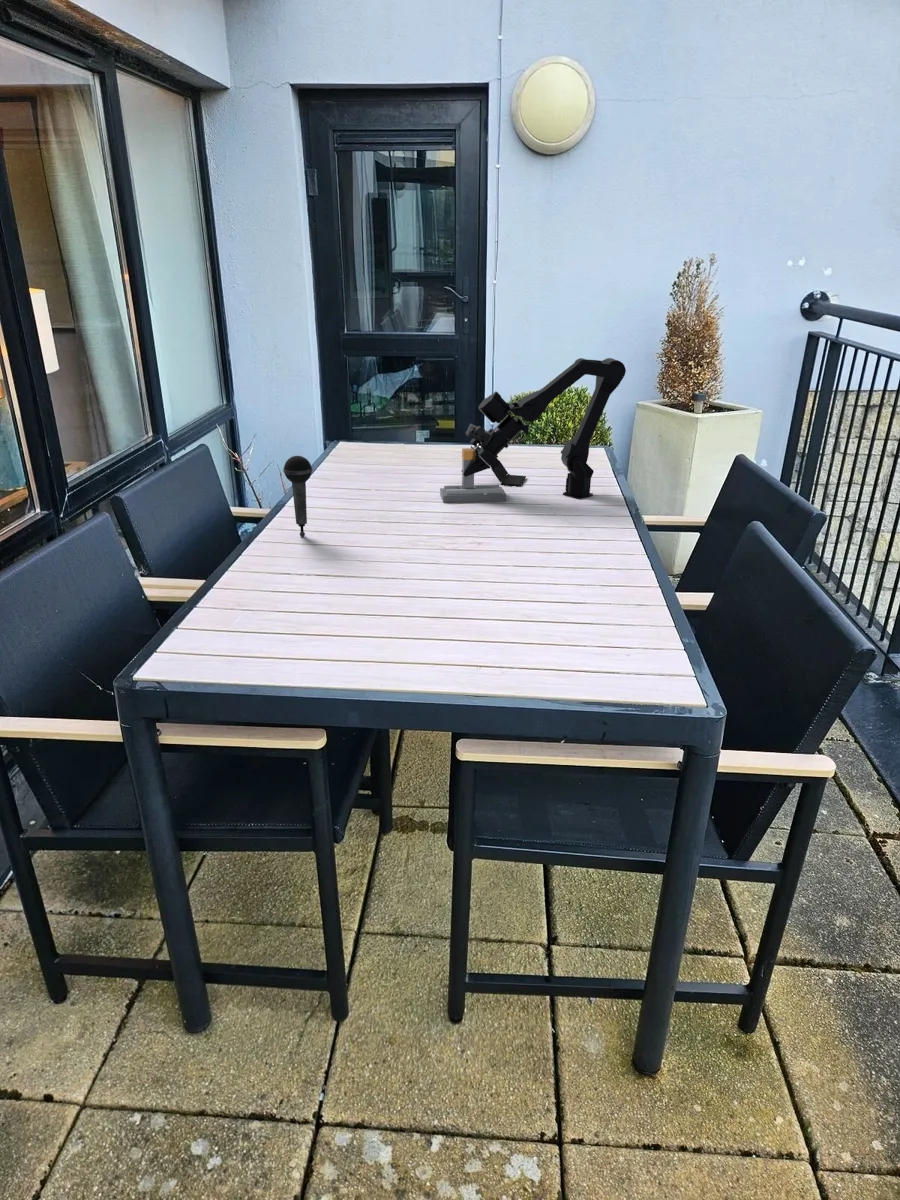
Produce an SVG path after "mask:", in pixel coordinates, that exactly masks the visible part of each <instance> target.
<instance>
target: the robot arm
mask: <svg viewBox="0 0 900 1200" xmlns="http://www.w3.org/2000/svg"><path fill="white" fill-rule="evenodd" d="M626 371H627V370H626V367H625V364H624V363H623V362H621V360H618V359H615V358H612V357H607V358H604V359H603V360H599V359H598V360H597V359H587V358H582V357H580V358H577V359H576V360H575V361H574V362H573V363H572V364H571V365H569V367H567V368H566V369H565V370H563V371H562V372H561V373H560V374H558V375H557V376H556V377H555V378H553V379H552V380H551V381H549V383H547V384H546V385H545V386H543V387H541V388H540V389H538V390H537V391H534V392H532V393H530V394H528V395H526V396H524V397H522V398H521V399H519V400H518V401H515V402H511V403H507V402H506V401H505V400H504V398H502V396H501V394H500V393H499V392H498V391H494V392H493V393H491V394H490V395H488V396H487V397H485V398H484V399H483V400H482V401H481V403H480V404H479V406H478V408H477V409H478V410H479V411H480V412H481V413H482V414H483V415H484V417H485V418H487V420H489V421H490V422H491V423H492V424H494V423H497V425H496V427H495V428H494V429H493V428H490V429H488V430H486V429H485V428H484V427H482V426H481V425H478V426H477V425H475V424H474V423H469V424H468V426H467V430H466V431H465V435H466V437H468V438H469V439H471V440H470V441H469V443H471V445H470V448H473V449H474V450H475V452H474V460H473V461H472V462H471V464H470V465H469V466H468V468H467V469H466V470H465V472H464V473H463V475H464V476H465V477H467V476H469V475H472V474H474V475H475V474H476V473H479V472H482V471H485V470H489V469H491V468H492V469H493V470H494V471H495V470H496V469H497V468H498V467H499V466H500V462H501V461H500V460H499V459H498V458H499V456H498V455H499V454H500V453H501V451H503V450H504V449H508V448H509V444H510V443H511V442H512V441H513V440H514V439H515V438H516V437H517V436H519V434H520V433H521V432H523V433H524V434H525V435H526V436H528V435H529V430H530V429H529V428H530V424H529V423H530V422H535V421H536V420H538V419H539V417H540V416H541V415H543V413H544V412H545V411H546V409H547V408H548V406H549V405H550V404H551V402H552V401H554V400H555V399H556V398H558V397H559V396H560V395H561V394H562V393H564V392H565V391H566V390H567V389H568V388H570V387H571V386H573V384H575V383H577V382H578V381H579V380H580V379H581V378H582V377H584V376H585V375H589V376H593V377H594V376H595V386H594V387H595V389H594V391H593V393H592V396H591V398H590V400H589V403H588V405H587V407H586V409H585V412H584V415H583V417H582V419H581V422H580V424H579V426H578V429H577V431H576V433H575V436H574V437H573V438H572V439H571V440H570V441H569V440H568V439H566V440H565V442H564V446H563V448H562V450H560V453H561V457H560V460H561V462H562V464H563V466H564V467H566V468H567V471H568V472H569V473H567V477H566V480H565V492H562V495H563V496H566V497H570V498H574V499H578V500H581V499H585V498H589V497H592V496H594V493H593V492H591V483H592V476H593V474H594V470H593V468H591V466H590V465H589V464H588V462H587V461H588V460H589V459H588V458H589V455H590V443H591V440H592V437H593V436H594V434H595V431H596V429H597V426H598V424H599V423H600V419H601V417H602V414H603V413H604V410H605V408H606V405H607V403H608V401H609V398H610V396H611V395H612V394H613V392H614V391H615V390H616V389H617V388H618V387H619V386H620V385H621V382H622V381H623V379H624V377H625V375H626ZM509 412H510V413H512V415H514V416H515V417H513V416H512V415H511V414H510V413H509ZM519 417H520V418H521V419H522V420H524V421H525V422H529V423H524V422H523V421H522V420H521V419H520V418H519ZM473 446H474V447H473ZM492 469H491V470H492ZM461 473H462V470H461Z"/></svg>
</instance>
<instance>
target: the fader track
mask: <svg viewBox="0 0 900 1200" xmlns="http://www.w3.org/2000/svg"><path fill="white" fill-rule="evenodd" d="M475 485H476V487H477V489H458V486H462V484H446V485H445V484H444V485H443V487H441V488H439V495H440V498H441V500H442V502H443V504H444V503H446V504H448V503H483V502H484V503H486V502H490V503H491V502H493V503H494V502H507V493H506V491H505V490H504V489H503V486H500V484H499V483H494V484H489V483H488V484H475Z"/></svg>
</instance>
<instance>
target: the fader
mask: <svg viewBox="0 0 900 1200" xmlns="http://www.w3.org/2000/svg"><path fill="white" fill-rule="evenodd" d="M473 448H474V447H473ZM473 448H471V447H470V448H462V449H461V459H462V460H461V462H462V463H461V471H462V472H461V485H462V486H458V489H477V487H476V485H477V484H475V474H472V475H469V476H467V477H465V476H464V475H463V473H464V472H465V470H466V469H467V468H468V466H469V465H470V464H471V462H472V461H473V460H474V452H475V450H474V449H473Z"/></svg>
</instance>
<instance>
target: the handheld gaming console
mask: <svg viewBox="0 0 900 1200" xmlns="http://www.w3.org/2000/svg"><path fill="white" fill-rule="evenodd" d="M490 469H491V471H492V472H493V474H494V476H495V477H496V478H497V480H498V481H499V483H500V486H501V485H504V486H503V487H512V486H516V487H515V488H520V487H521V486H522V485H523V484H524V482H525V481H526V479H527V476H526V475H516V474H511V473H509V472H508V471H507V469H506V468H505V466H504V465H503V463H502V462H501V461H500V466H499V467H498V468H497V469H496V470H495V471H494V470H493V469H492V468H490ZM525 478H526V479H525ZM524 480H525V481H524ZM523 481H524V482H523ZM521 484H522V485H521Z"/></svg>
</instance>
